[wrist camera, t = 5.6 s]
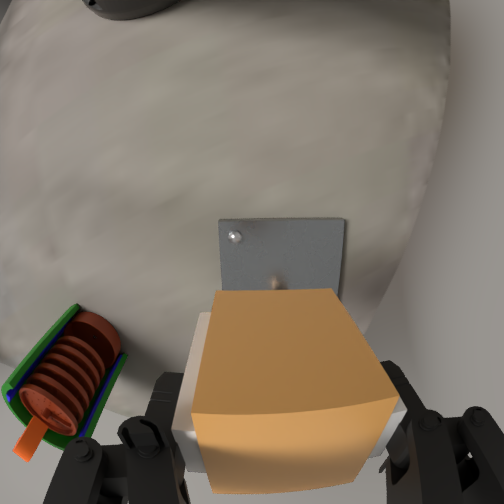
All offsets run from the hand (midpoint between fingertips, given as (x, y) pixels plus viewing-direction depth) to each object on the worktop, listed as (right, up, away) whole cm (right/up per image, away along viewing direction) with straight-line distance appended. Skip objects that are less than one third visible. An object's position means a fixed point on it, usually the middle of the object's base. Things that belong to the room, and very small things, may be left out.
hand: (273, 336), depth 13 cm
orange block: (0, 0, 0) cm, 0 cm away
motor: (-22, -7, +19) cm, 30 cm away
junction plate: (+2, 0, +17) cm, 17 cm away
